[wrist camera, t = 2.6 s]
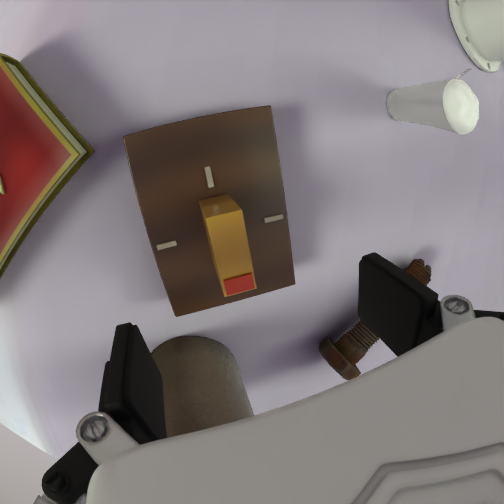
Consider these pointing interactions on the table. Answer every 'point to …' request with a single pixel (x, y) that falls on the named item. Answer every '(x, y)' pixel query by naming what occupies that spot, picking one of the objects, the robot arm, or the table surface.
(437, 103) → the milkshake
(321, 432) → the robot arm
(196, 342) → the pillar candle
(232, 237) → the thumbturn
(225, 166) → the lock plate
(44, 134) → the hardcover book
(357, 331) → the bolt
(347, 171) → the table surface
